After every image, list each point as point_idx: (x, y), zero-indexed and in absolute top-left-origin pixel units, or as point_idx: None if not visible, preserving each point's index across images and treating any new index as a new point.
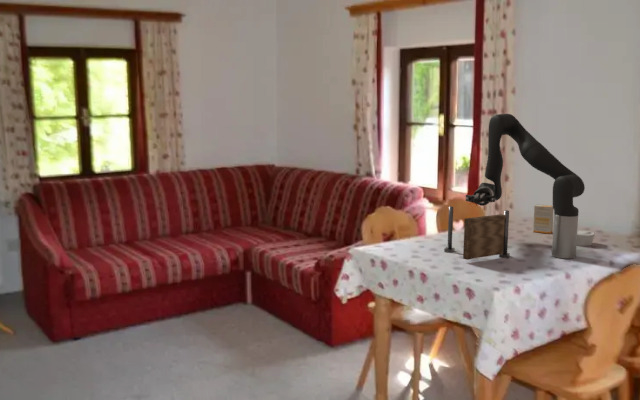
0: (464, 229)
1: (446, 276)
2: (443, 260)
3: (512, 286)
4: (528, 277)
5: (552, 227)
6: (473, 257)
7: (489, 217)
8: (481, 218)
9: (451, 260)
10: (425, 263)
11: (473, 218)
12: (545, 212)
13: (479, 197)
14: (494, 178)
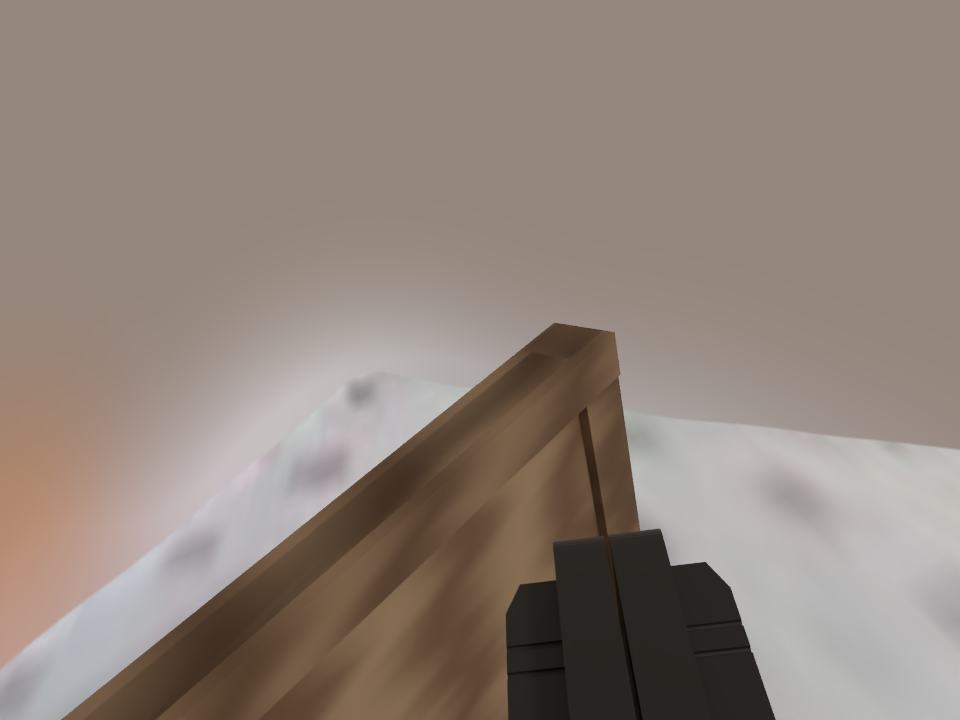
0: (623, 440)
1: (624, 410)
2: (849, 672)
3: (286, 439)
4: (171, 584)
5: None
6: None
7: (333, 506)
8: (433, 426)
9: (787, 707)
10: (907, 535)
11: (519, 370)
12: None
13: (575, 717)
14: None
